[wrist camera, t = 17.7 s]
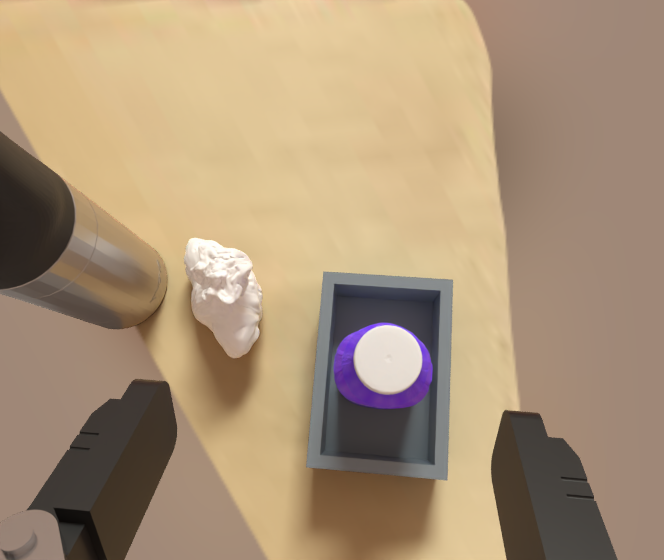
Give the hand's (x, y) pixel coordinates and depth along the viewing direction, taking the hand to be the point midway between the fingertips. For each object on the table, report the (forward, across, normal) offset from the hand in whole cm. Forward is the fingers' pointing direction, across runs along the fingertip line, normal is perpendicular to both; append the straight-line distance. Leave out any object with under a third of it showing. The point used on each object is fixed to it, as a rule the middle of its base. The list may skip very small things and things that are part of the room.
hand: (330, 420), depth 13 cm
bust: (+33, +13, +19) cm, 40 cm away
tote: (+28, -2, +23) cm, 37 cm away
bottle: (+28, -2, +23) cm, 36 cm away
